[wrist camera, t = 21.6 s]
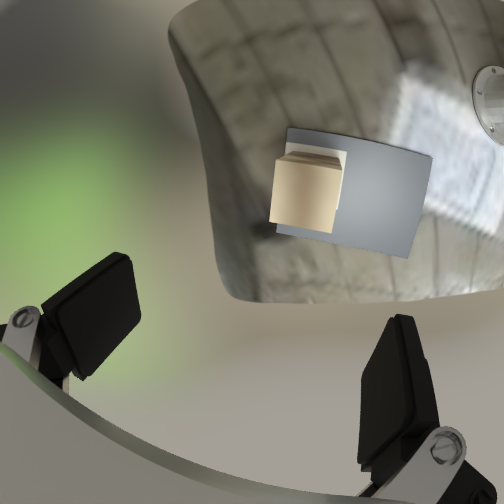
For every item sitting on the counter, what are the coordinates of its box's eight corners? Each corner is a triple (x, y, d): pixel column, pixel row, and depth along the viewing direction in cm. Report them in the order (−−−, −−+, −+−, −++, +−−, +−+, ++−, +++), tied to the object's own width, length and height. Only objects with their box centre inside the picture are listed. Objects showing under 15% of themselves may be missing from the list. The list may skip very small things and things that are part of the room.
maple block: (340, 163, 28) (342, 170, 22) (331, 214, 30) (331, 233, 25) (286, 154, 29) (275, 159, 24) (280, 205, 32) (269, 221, 26)
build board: (431, 157, 29) (432, 158, 29) (406, 257, 36) (407, 259, 35) (288, 127, 34) (287, 127, 33) (277, 231, 40) (276, 232, 40)
